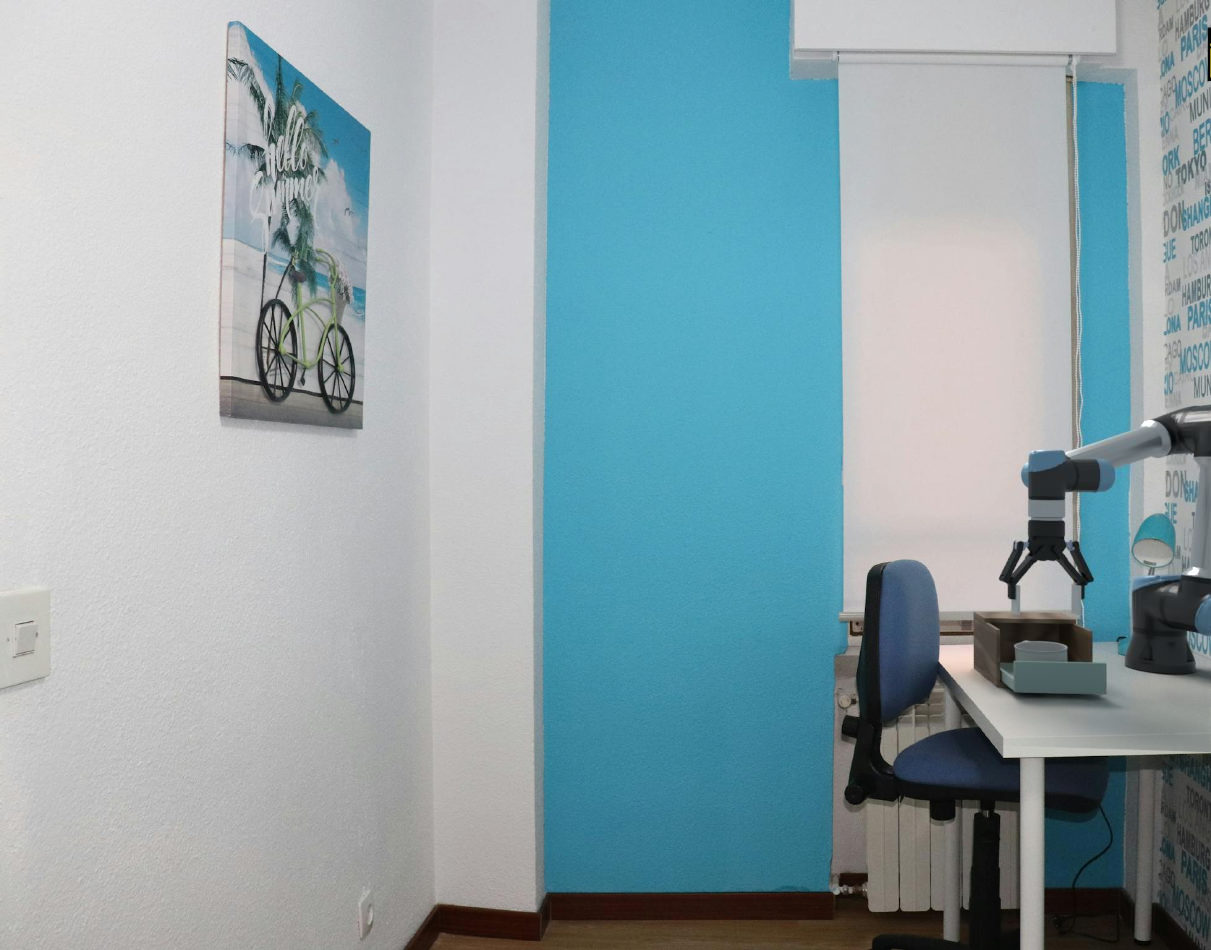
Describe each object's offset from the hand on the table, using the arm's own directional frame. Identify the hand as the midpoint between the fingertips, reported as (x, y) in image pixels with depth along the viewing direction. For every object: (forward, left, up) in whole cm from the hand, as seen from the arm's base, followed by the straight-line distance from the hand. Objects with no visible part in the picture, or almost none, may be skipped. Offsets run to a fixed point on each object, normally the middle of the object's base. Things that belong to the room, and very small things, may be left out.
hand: (1045, 614), depth 207 cm
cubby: (0, -12, -17) cm, 21 cm away
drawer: (0, -2, -16) cm, 16 cm away
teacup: (+1, -2, -15) cm, 15 cm away
